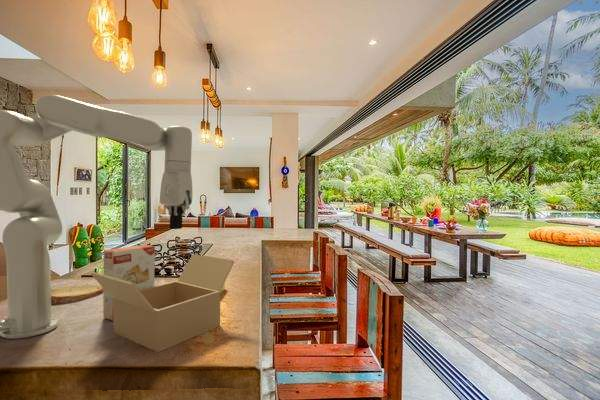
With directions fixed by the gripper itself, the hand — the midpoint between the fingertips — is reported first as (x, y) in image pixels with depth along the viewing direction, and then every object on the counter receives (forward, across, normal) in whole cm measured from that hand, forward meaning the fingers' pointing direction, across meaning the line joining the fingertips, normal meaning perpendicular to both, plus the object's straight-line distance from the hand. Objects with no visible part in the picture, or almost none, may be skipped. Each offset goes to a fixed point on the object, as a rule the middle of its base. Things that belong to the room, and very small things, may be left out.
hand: (175, 228), depth 105 cm
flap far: (+13, +6, +7) cm, 16 cm away
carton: (+27, +6, -6) cm, 29 cm away
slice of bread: (+29, -48, -8) cm, 57 cm away
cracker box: (+28, -15, -5) cm, 32 cm away
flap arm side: (+14, +6, -19) cm, 24 cm away
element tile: (+28, -13, +22) cm, 38 cm away
